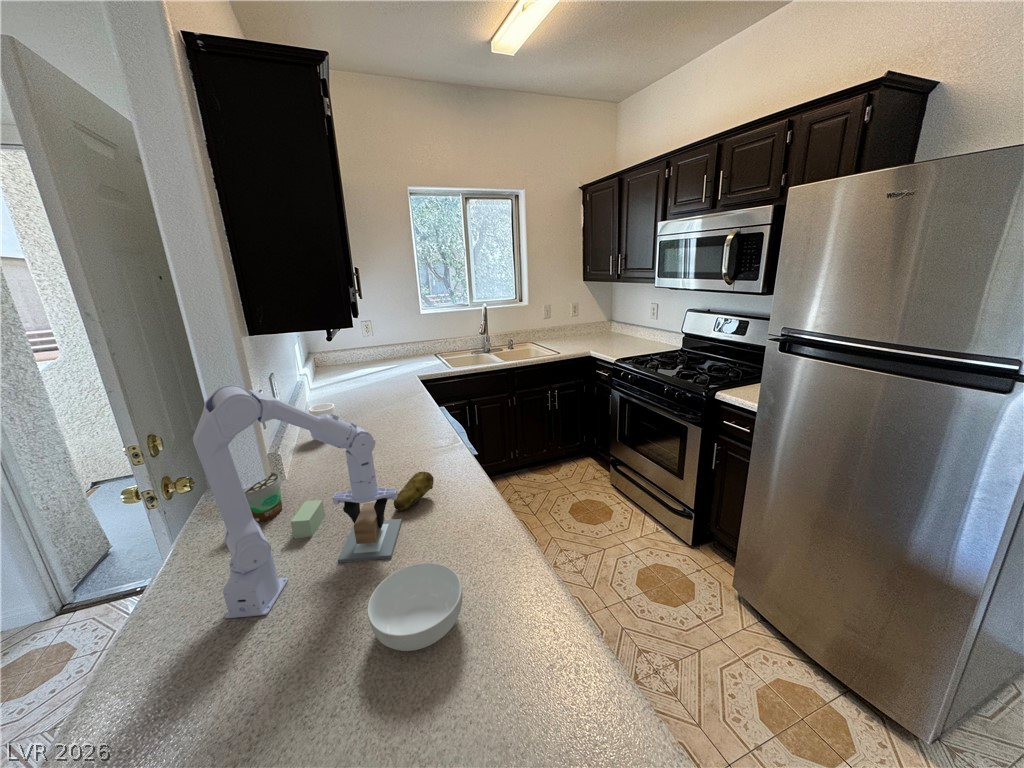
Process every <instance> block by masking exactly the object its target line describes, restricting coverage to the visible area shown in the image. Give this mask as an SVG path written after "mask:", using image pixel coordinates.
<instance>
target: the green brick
mask: <svg viewBox="0 0 1024 768" xmlns="http://www.w3.org/2000/svg"><path fill="white" fill-rule="evenodd" d="M303 502H304V503H303V504H302V505H301V507H300V508H299V509H298V510H297V512H296V513H295V515H294V516H293V517H292V519H291V520H290V525H291V530H292V534H293V538H294V539H300V538H301V539H302V538H312V537H314V535H315V533H316V532H317V530H318V528H319V526H320V525H321V523H322V522H323V520H324V519H325V517H326V513H325V512H326V511H325V507H324V501H323V499H320V500H319V499H318V500H306V501H303Z"/></svg>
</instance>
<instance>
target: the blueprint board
mask: <svg viewBox="0 0 1024 768" xmlns="http://www.w3.org/2000/svg"><path fill="white" fill-rule="evenodd" d="M402 524H403V518H397V519H396V518H395V519H385V520H384V522H383V525H382V528H381V531H380V533H379V536H378V539H377V541H376V543H364V544H356V538H355V532H354V525H353V526H352V529H351V531H350V533H349V534H348V537H347V539H346V541H345V543H344V546H343V548H342V550H341V552H340V554H339V556H338V558H337V562H338V563H351V562H363V561H373V560H375V561H376V560H386V559H392V557H393V553H394V551H395V547H396V543H397V541H398V536H399V533H400V530H401V527H402Z"/></svg>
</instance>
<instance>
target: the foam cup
mask: <svg viewBox="0 0 1024 768" xmlns="http://www.w3.org/2000/svg"><path fill="white" fill-rule="evenodd" d="M308 413H309V414H312V415H314V416H320V415H323V414H328V415H331V414H332V413H333V414H335V415H336V407H335V404H334V403H328V402H326V403H325V402H324V403H320V404H319V403H318V404H313V405H312V406H310V407H309V408H308Z"/></svg>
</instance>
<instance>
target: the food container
mask: <svg viewBox="0 0 1024 768" xmlns="http://www.w3.org/2000/svg"><path fill="white" fill-rule="evenodd" d="M282 484H283V480H282V479H281V476H280V475H279V474H278V472H277V473H276V472H275V471H270V475H269V476H267V477H265V479H263V480H260V481H258V482H256V483H254V484H253V485H251V487H250V488H248V489H247V490H246V491H244V493H245V495H246V498H247V501H248V504H249V507H250V510H251V512H252V515H253V518H254V520H255V521H256V522H257V523H258V524H261V523H265V522H269V521H271V520H273V519H275V518H276V517H278V516H279V515H281V513H282V511H283V503H282V501H283V500H282V495H281V486H282ZM280 512H281V513H280ZM277 515H278V516H277ZM274 517H275V518H274Z"/></svg>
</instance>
